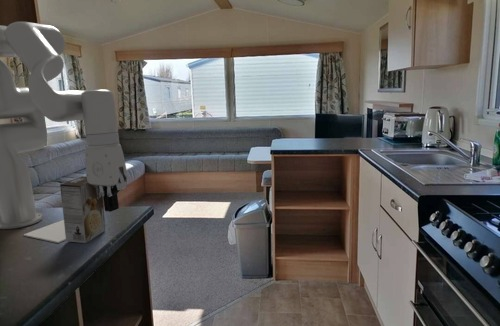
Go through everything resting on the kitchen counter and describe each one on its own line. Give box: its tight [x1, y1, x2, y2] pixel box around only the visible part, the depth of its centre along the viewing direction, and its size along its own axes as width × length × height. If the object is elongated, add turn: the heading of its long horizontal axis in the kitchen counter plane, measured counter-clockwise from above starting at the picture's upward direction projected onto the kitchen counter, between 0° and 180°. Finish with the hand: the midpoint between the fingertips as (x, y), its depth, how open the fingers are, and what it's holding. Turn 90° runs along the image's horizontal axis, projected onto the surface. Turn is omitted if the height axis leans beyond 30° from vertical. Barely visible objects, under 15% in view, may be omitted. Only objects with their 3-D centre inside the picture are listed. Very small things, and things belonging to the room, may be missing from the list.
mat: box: [23, 219, 66, 244], centre depth 108 cm, size 16×14×1 cm
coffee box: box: [59, 176, 106, 244], centre depth 100 cm, size 9×6×16 cm
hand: (112, 209), depth 95 cm, fingers closed
